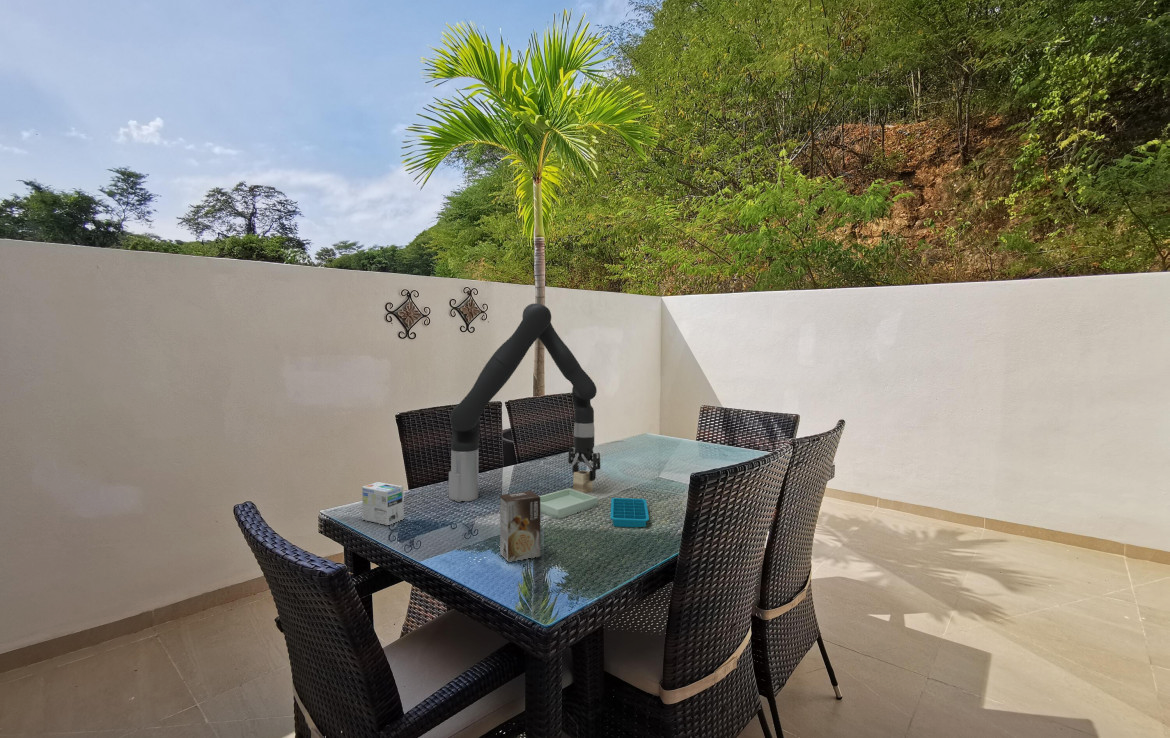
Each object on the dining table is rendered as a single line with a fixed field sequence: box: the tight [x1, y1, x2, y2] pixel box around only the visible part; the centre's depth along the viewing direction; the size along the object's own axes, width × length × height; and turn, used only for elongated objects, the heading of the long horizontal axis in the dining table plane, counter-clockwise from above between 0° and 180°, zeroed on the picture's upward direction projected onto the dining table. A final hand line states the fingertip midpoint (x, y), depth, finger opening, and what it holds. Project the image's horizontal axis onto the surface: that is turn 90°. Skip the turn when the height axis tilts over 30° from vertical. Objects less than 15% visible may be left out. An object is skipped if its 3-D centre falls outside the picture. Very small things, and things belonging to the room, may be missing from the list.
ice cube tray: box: [609, 497, 650, 528], centre depth 168 cm, size 12×20×3 cm, turn 176°
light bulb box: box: [361, 481, 405, 526], centre depth 160 cm, size 11×7×11 cm, turn 65°
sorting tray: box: [538, 487, 599, 520], centre depth 176 cm, size 18×14×3 cm
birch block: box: [572, 469, 594, 494], centre depth 193 cm, size 5×5×7 cm
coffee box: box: [499, 490, 542, 562], centre depth 137 cm, size 9×6×16 cm
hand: (583, 478), depth 193 cm, fingers open, 8 cm apart
